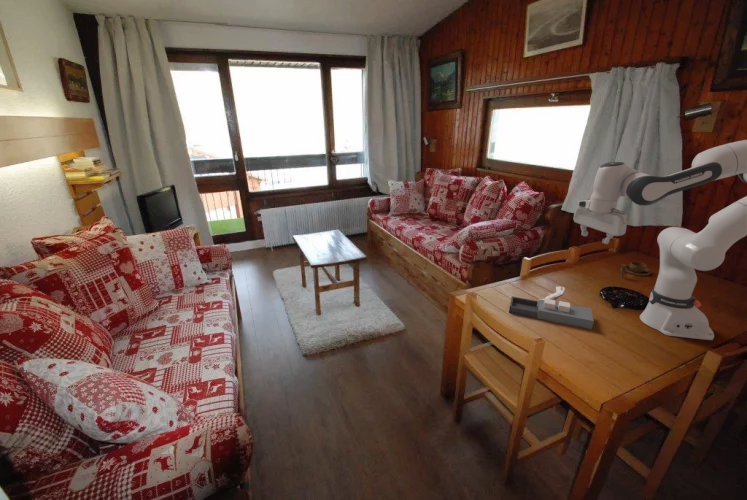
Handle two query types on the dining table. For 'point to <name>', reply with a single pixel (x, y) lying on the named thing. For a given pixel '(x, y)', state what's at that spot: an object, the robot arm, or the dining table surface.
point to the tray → (523, 307)
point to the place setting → (635, 269)
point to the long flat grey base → (567, 315)
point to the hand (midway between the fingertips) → (594, 239)
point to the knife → (558, 293)
